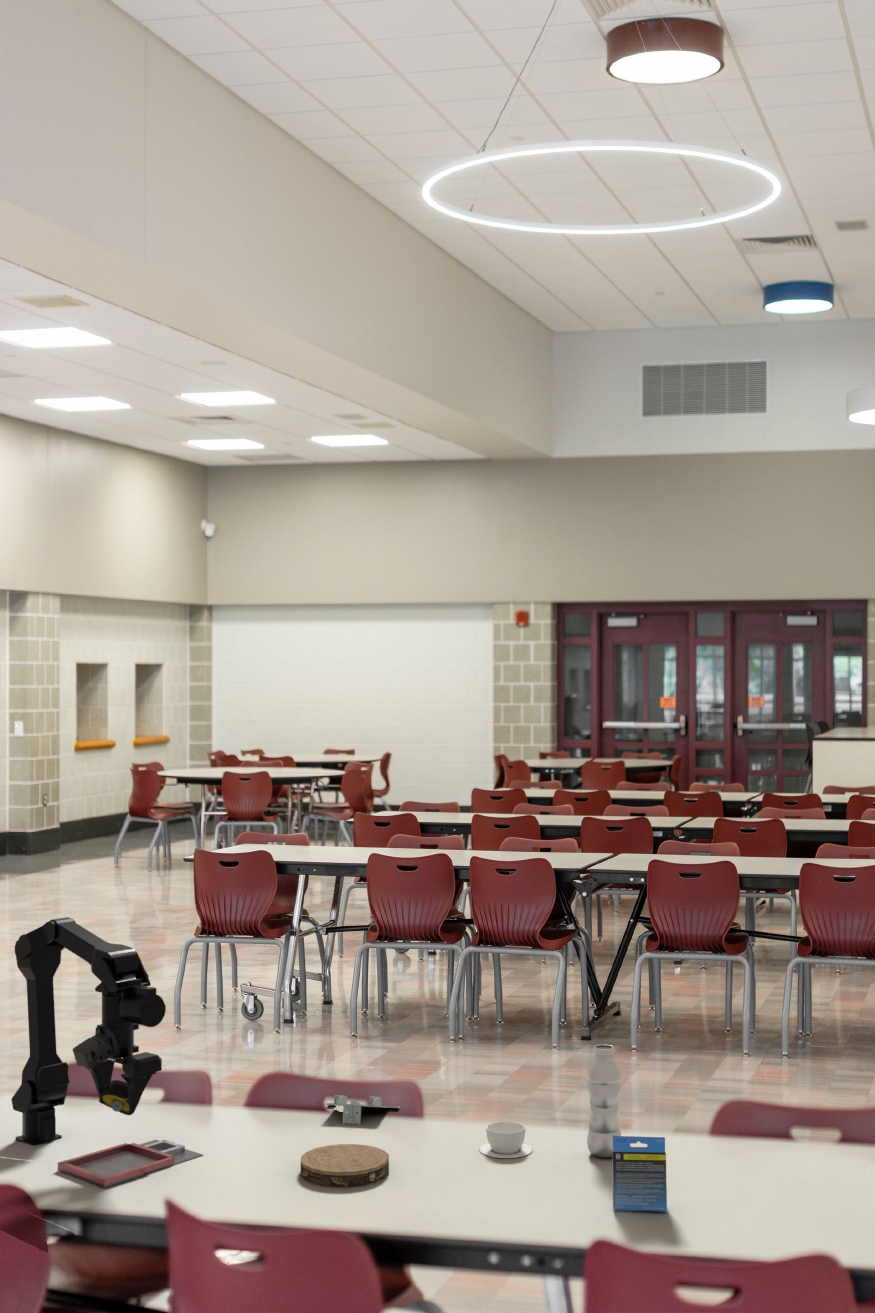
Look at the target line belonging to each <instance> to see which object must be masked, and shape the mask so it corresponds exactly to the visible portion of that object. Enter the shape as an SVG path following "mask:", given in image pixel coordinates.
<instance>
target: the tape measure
mask: <svg viewBox="0 0 875 1313" xmlns="http://www.w3.org/2000/svg"><path fill="white" fill-rule="evenodd" d="M140 1101H141V1099H140V1100H139V1102H138V1104H137V1106H136V1108H135V1109H134V1110H129V1104H128V1093H127V1082H126V1081H122V1080H118V1079H114V1080H111V1081H110V1082H109V1083H107V1084H106V1085H105V1087H104V1091H103V1093H102V1095H101V1096H100V1098H99V1099H98V1102H99V1103H100V1104H101V1105H104V1106H106V1107H108V1108H109V1109H112V1111H114V1112H118V1113H120V1114H122V1115H126V1116H131V1115H133V1114H135V1111H136V1109H137V1108H138V1105H139V1104H140Z"/></svg>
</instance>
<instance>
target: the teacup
mask: <svg viewBox="0 0 875 1313" xmlns="http://www.w3.org/2000/svg"><path fill="white" fill-rule="evenodd" d="M526 1128H527V1127H526V1126H525V1125H524V1124H523V1123H520V1122H516V1121H494V1122H491V1123H488V1124H487V1125H486V1126H485V1130H486V1138H487V1143H485V1144H483V1145H481V1146H479V1148H478V1149H479V1152H480V1153H481V1154H483V1155H484V1156H487V1157H491V1158H499V1159H512V1158H513V1159H515V1158H521V1157H522V1158H523V1157H525V1156H528V1155H530V1154H531V1153H532V1152H533V1148H532V1147H531V1146H530V1145H529V1144H526V1143H524V1141H525V1138H526ZM490 1148H491V1149H492V1150H493V1151H494V1152H493V1151H491V1150H490ZM520 1149H521V1150H520ZM519 1150H520V1151H519ZM518 1151H519V1152H518Z"/></svg>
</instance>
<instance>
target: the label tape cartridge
mask: <svg viewBox="0 0 875 1313" xmlns="http://www.w3.org/2000/svg"><path fill="white" fill-rule="evenodd" d="M638 1142H639V1143H640V1144H643V1145H647V1146H631V1144H634V1145H635V1144H637V1143H638ZM611 1158H612V1159H611V1162H612V1164H611V1165H612V1166H611V1167H612V1209H613V1210H614V1211H629V1212H631V1211H632V1212H633V1211H637V1212H638V1211H640V1212H641V1211H642V1212H643V1211H645V1212H646V1211H647V1212H649V1211H650V1212H661V1213H662V1212H663V1213H664V1212H667V1210H668V1198H667V1197H668V1196H667V1195H668V1194H667V1193H668V1191H667V1190H668V1188H667V1183H668V1182H667V1152H666V1137H664V1136H663V1137H660V1136H659V1137H658V1136H633V1135H632V1136H630V1135H629V1136H627V1135H624V1136H623V1135H621V1136H613V1151H612V1157H611Z"/></svg>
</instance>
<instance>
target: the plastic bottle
mask: <svg viewBox="0 0 875 1313" xmlns="http://www.w3.org/2000/svg"><path fill="white" fill-rule="evenodd" d="M593 1048H594V1050H593V1058H595V1059H594V1060H593V1062H592V1063H591V1065H590V1067H589V1069H588V1070H587V1075H586V1077H587V1086H588V1092H589V1094H588V1095H589V1105H590V1107H589V1108H590V1114H589V1127H588V1131H587V1139H586V1140H587V1141H586V1143H587V1149H588V1151H589V1153H590V1154H591V1155H592V1156H595V1157H599V1158H612V1151H613V1136H622V1132H621V1127H620V1126H621V1125H620V1117H619V1116H620V1115H619V1114H620V1113H619V1108H620V1107H619V1105H620V1095H621V1094H620V1092H621V1085H622V1072H621V1070H620V1068H619V1067H618V1065H617V1064H616V1062H615V1061H614V1058H615V1053H614V1051H615V1049H614V1046H613V1045H611V1044H596V1045H595V1046H593Z"/></svg>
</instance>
